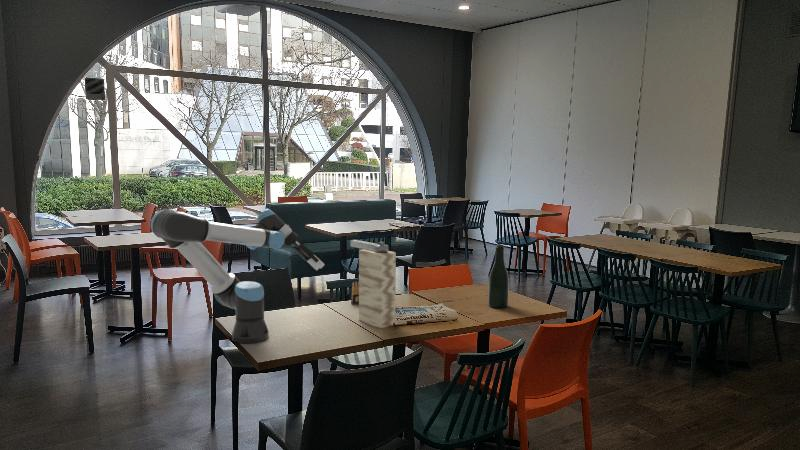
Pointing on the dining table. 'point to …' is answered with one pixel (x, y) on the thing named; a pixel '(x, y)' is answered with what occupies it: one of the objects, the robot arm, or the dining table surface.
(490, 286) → the beer bottle
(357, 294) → the ammunition clip
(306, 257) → the robot arm
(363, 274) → the stand
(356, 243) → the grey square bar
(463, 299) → the dining table surface
